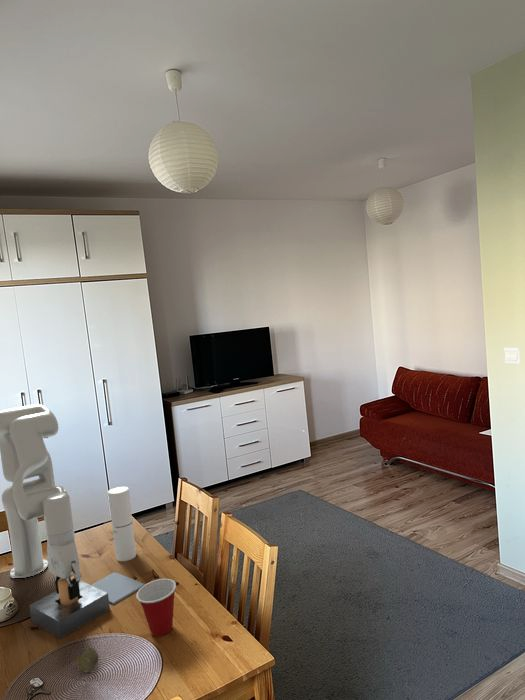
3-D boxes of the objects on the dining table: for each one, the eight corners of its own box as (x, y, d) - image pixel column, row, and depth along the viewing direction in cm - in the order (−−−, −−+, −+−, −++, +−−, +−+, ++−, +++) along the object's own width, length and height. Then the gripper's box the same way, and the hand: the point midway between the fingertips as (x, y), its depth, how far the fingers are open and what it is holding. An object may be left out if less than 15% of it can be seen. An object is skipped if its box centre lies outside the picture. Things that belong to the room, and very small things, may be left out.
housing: (31, 621, 151) (29, 605, 151) (79, 594, 163) (78, 579, 163) (60, 638, 141) (58, 621, 141) (109, 609, 153) (107, 593, 153)
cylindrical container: (130, 561, 183) (122, 493, 181) (112, 561, 184) (104, 493, 182) (139, 551, 190) (131, 486, 188) (121, 551, 191) (114, 486, 189)
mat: (83, 590, 166) (83, 588, 166) (114, 573, 175) (114, 572, 175) (113, 604, 156) (113, 602, 156) (144, 585, 165) (144, 584, 165)
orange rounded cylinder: (58, 617, 152) (54, 581, 151) (73, 608, 156) (69, 573, 155) (68, 622, 149) (63, 585, 148) (83, 613, 153) (79, 577, 152)
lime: (100, 661, 130) (97, 642, 130) (94, 675, 125) (92, 655, 125) (82, 663, 130) (80, 644, 129) (76, 677, 125) (73, 657, 125)
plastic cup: (137, 626, 143) (132, 585, 143) (175, 613, 148) (170, 574, 147) (144, 648, 133) (139, 604, 133) (185, 634, 138) (180, 591, 137)
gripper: (33, 535, 153) (41, 592, 154) (65, 547, 142) (73, 609, 143) (56, 525, 159) (64, 581, 160) (88, 536, 148) (96, 596, 149)
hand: (68, 593), depth 152 cm, fingers open, 6 cm apart
